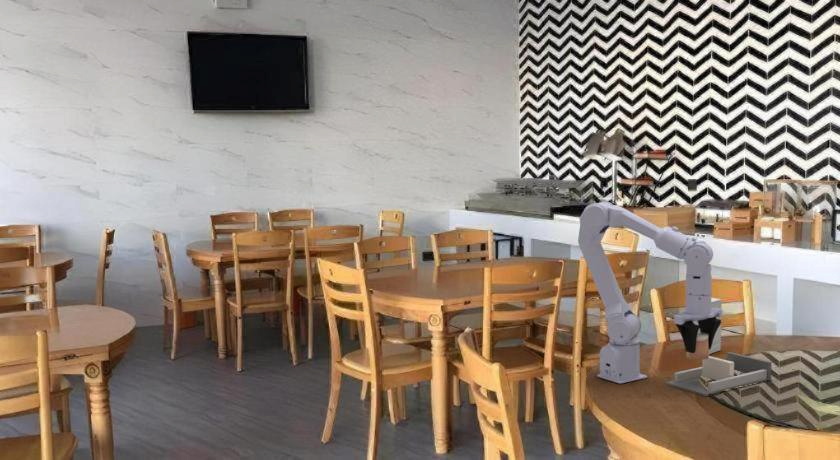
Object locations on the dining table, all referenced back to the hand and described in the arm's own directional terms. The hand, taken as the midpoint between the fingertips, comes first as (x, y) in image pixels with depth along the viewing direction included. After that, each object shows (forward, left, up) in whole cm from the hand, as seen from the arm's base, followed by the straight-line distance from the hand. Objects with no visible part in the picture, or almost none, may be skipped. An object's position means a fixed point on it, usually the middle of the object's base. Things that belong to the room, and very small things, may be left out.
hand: (698, 350), depth 188 cm
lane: (+6, -1, -8) cm, 10 cm away
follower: (+6, -1, -8) cm, 10 cm away
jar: (0, 0, -2) cm, 2 cm away
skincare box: (+27, +21, -9) cm, 35 cm away
